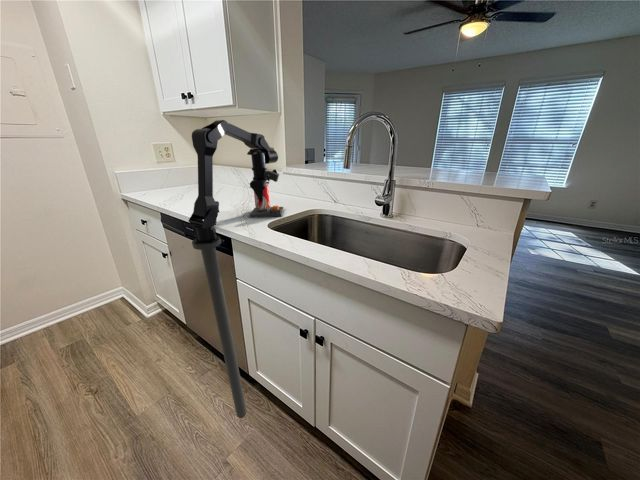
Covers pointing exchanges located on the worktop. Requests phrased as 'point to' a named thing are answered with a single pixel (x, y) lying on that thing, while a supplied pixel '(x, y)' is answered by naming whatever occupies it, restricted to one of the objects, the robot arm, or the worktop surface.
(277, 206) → the tare button
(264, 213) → the scale
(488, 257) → the worktop surface
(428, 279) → the worktop surface
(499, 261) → the worktop surface
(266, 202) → the soda can
